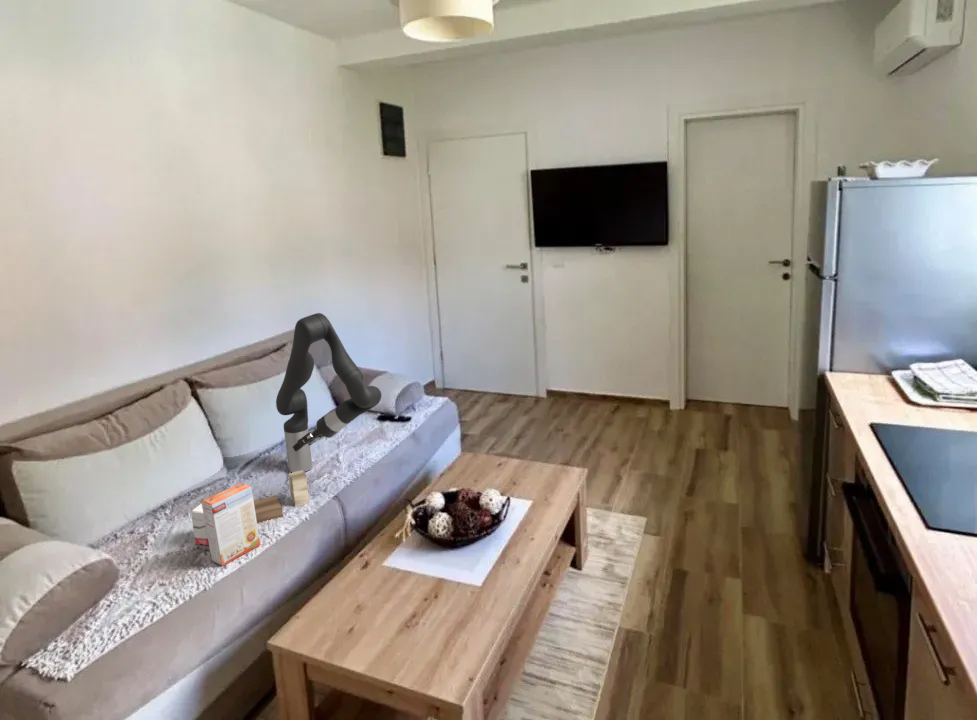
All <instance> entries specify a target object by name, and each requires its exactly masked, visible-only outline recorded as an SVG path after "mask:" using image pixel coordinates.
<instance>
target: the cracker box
mask: <svg viewBox="0 0 977 720" xmlns="http://www.w3.org/2000/svg"><path fill="white" fill-rule="evenodd" d="M254 501H255V500H254V495H253V489H252V486H250V485H248V484H245V483H242V482H239V483H237V484H236V485H233V486H231V487H229V488H226V489H224V490H223V491H220V492H218V493H216V494H213V495H211V496H208V497H207V498H205V499H204V498H203V499H202V500H201V503H202V508H203V514H204V519H205V525H206V530H207V536H208V541H209V545H208V547H209V553H210V557H211V561H212V562H213V561H214V563H215V562H216V563H215V564H218V565H220V566H222V567H223V566H225V565H228V564H229V563H231V562H233V561H235V560H237V559H238V558H239V557H241V556H243V555H245V554H247V553H249V552H250V551H252V550H254V549H255V548H257V547H259V546H261V541H260V535H259V527H258V523H257V520H256V513H255V507H254ZM201 503H200V504H201Z"/></svg>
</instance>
